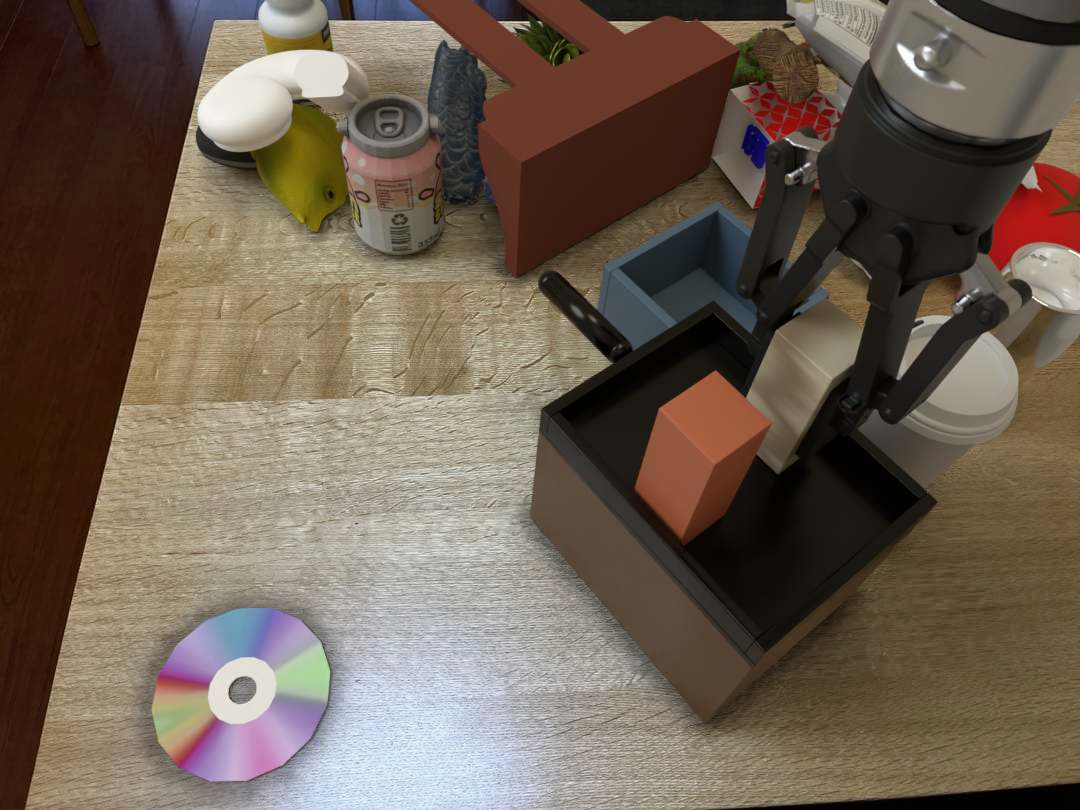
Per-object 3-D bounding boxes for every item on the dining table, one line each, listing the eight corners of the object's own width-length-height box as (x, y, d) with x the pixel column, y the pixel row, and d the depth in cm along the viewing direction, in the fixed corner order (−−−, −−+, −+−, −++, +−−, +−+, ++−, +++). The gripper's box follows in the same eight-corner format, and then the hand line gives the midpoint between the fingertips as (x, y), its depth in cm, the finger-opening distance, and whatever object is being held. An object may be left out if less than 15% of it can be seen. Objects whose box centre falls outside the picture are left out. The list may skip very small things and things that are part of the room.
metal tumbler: (1016, 394, 73) (1125, 273, 61) (983, 449, 70) (1091, 332, 58) (939, 351, 76) (1030, 224, 63) (904, 401, 72) (992, 279, 60)
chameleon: (924, -11, 91) (780, 6, 100) (818, 30, 70) (648, 47, 79) (922, 58, 93) (781, 69, 103) (819, 117, 73) (655, 123, 82)
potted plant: (629, 174, 80) (475, 111, 78) (609, 169, 93) (475, 115, 90) (682, 43, 77) (524, -27, 75) (654, 55, 90) (517, -5, 87)
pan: (850, 595, 63) (939, 501, 50) (704, 724, 57) (765, 653, 45) (601, 347, 74) (625, 220, 62) (459, 434, 68) (454, 314, 56)
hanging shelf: (708, 167, 86) (519, 17, 98) (740, 49, 75) (523, -103, 87) (516, 278, 77) (333, 98, 89) (521, 162, 66) (312, -25, 78)
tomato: (915, 205, 82) (993, 123, 73) (1025, 221, 86) (1112, 144, 77) (962, 334, 75) (1054, 260, 67) (1079, 345, 79) (1182, 277, 70)
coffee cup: (904, 421, 71) (994, 300, 59) (950, 527, 66) (1059, 419, 54) (792, 431, 70) (859, 310, 58) (829, 540, 65) (912, 433, 52)
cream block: (821, 441, 55) (882, 343, 46) (777, 475, 53) (832, 379, 45) (774, 399, 56) (825, 296, 48) (731, 430, 55) (775, 329, 46)
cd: (254, 819, 52) (255, 819, 52) (365, 658, 58) (365, 659, 58) (112, 722, 55) (113, 723, 55) (231, 578, 61) (231, 578, 61)
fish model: (490, 69, 94) (490, 26, 89) (500, 210, 82) (501, 168, 78) (427, 70, 93) (424, 27, 89) (429, 212, 82) (425, 170, 77)
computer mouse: (252, 75, 86) (257, 112, 89) (176, 134, 78) (183, 172, 81) (316, 96, 85) (318, 132, 88) (245, 158, 77) (251, 196, 80)
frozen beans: (761, 47, 67) (1014, 223, 70) (812, -24, 64) (1075, 165, 67) (765, -8, 83) (971, 137, 87) (806, -66, 80) (1018, 87, 83)
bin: (801, 352, 75) (831, 294, 68) (695, 426, 70) (716, 371, 63) (699, 262, 80) (717, 200, 73) (593, 326, 75) (603, 265, 69)
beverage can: (354, 188, 82) (336, 78, 72) (444, 186, 83) (439, 76, 73) (352, 262, 77) (333, 154, 67) (448, 258, 78) (443, 151, 68)
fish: (284, 228, 76) (384, 218, 82) (226, 68, 77) (328, 70, 84) (274, 243, 78) (373, 232, 84) (218, 87, 80) (318, 87, 86)
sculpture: (228, 82, 81) (193, -1, 75) (387, 70, 79) (365, -16, 73) (194, 166, 74) (152, 82, 67) (369, 154, 72) (342, 67, 66)
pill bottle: (332, 111, 88) (313, 4, 78) (268, 106, 88) (241, -3, 78) (344, 72, 92) (328, -36, 82) (283, 66, 92) (259, -43, 82)
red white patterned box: (821, 189, 86) (849, 123, 79) (752, 209, 84) (775, 143, 77) (777, 138, 90) (800, 71, 83) (711, 156, 88) (729, 88, 81)
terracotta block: (725, 514, 51) (772, 422, 43) (676, 552, 50) (715, 464, 42) (679, 466, 53) (715, 369, 45) (630, 501, 52) (658, 408, 43)
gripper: (734, 10, 36) (645, 356, 55) (1104, 265, 29) (852, 558, 48) (853, -45, 38) (729, 303, 58) (1217, 175, 31) (936, 486, 51)
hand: (785, 418), depth 53 cm, fingers closed on cream block, 4 cm apart
